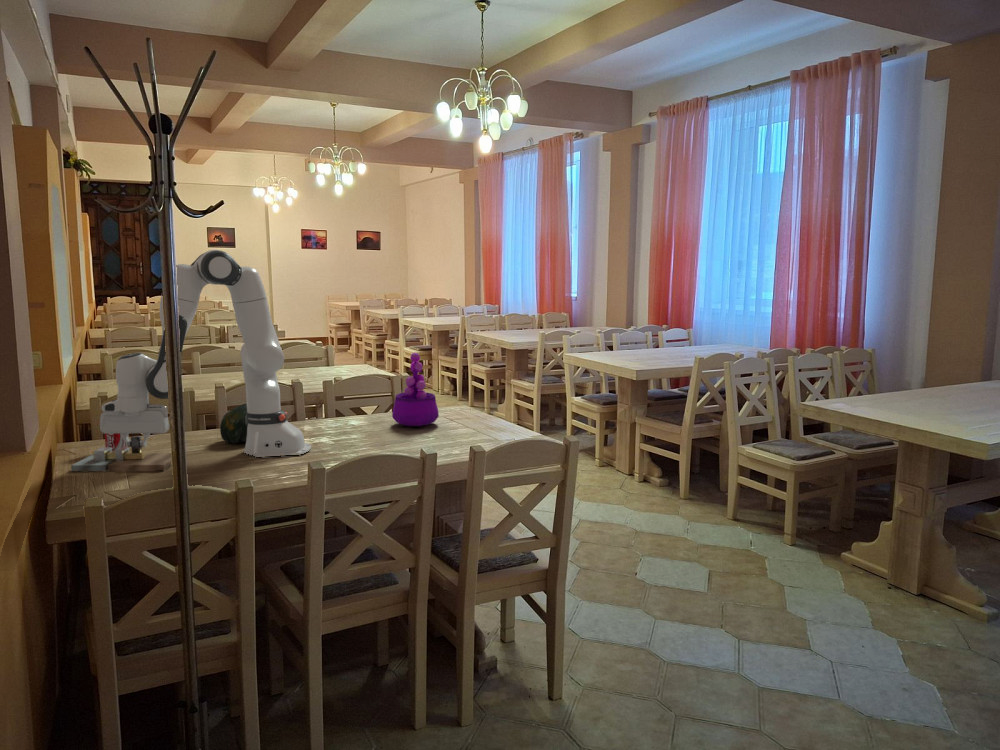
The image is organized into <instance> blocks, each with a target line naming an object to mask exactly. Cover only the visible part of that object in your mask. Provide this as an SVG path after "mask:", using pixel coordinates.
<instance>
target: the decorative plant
mask: <svg viewBox="0 0 1000 750" xmlns="http://www.w3.org/2000/svg"><path fill="white" fill-rule="evenodd" d="M409 357H410V360H411V363H410V371H411V372H412V376H408V377H407V378H406V379H405V384H406V387H405V388H404V392H401V393H398V394H396V395H395V397H394V404H393V408H392V414H391V417H392V419H393V420H394V421H395V423H397V424H400V425H402V426H404V427H412V426H418V427H423V425H425V426H428V425H430V424H432V423H435V422H436V421H437V419H438V418H439V414H440V413H439V408H438V405H437V399H436V395H435V394H434V393H432V392H426V391H425V388H426V382H425V376H424V375H423V374H421V372H422V370H423V367H424V366H423V363H421V362H420V359H421V356H420V354H419V353H417V352H412V353H411V354H410V356H409ZM419 373H420V374H419Z"/></svg>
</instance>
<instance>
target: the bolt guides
mask: <svg viewBox="0 0 1000 750" xmlns="http://www.w3.org/2000/svg"><path fill="white" fill-rule="evenodd" d="M108 451H112V447H105V446H101V447H99V448H97V449H96V450H94V451H93V453H94V455H95V461H106V452H108ZM125 451H130V447H122V448H120V449H118V450H116V451H115V452H116V461H124V452H125Z"/></svg>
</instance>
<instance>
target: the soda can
mask: <svg viewBox="0 0 1000 750" xmlns="http://www.w3.org/2000/svg"><path fill="white" fill-rule="evenodd" d="M104 443H105V446H104V447H112V451H116V450H118V449H120V448H122V447H126V443H125V441H124V440H123V438H122V437H121V433H104Z"/></svg>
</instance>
